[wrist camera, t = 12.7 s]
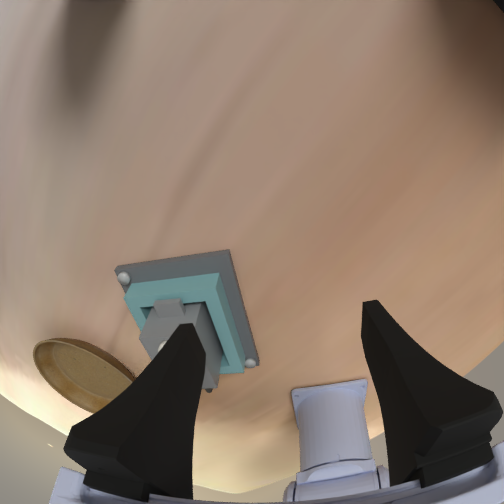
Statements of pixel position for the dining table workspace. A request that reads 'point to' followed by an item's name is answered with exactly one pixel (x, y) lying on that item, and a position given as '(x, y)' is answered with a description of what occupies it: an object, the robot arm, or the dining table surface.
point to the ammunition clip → (500, 4)
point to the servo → (168, 319)
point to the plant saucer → (81, 372)
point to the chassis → (195, 298)
